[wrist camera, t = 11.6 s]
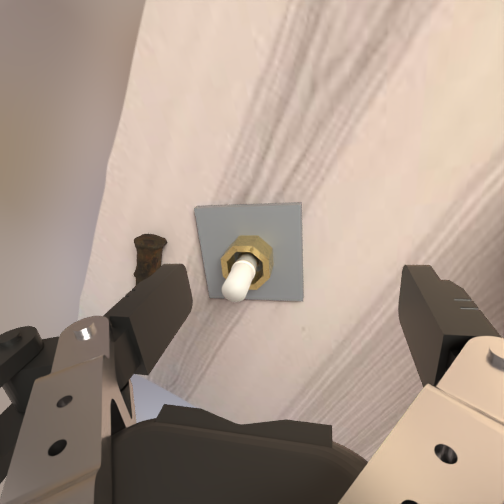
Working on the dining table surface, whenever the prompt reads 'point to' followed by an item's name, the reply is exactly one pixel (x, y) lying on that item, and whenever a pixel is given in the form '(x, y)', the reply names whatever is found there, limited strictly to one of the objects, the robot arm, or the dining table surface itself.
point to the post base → (265, 227)
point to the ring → (258, 249)
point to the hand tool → (148, 255)
